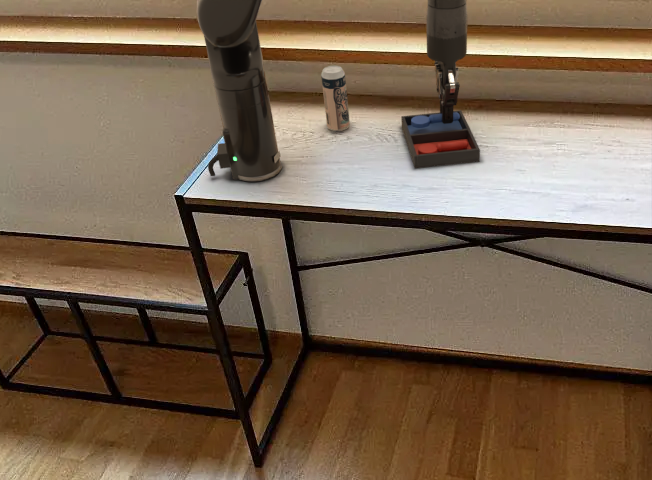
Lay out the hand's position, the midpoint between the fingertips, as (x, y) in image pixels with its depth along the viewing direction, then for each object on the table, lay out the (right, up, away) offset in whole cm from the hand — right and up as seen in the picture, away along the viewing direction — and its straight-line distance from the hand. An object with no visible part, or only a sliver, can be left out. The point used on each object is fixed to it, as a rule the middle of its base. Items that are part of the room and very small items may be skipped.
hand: (446, 119), depth 142 cm
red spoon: (-1, -8, -5) cm, 9 cm away
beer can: (-22, 0, +6) cm, 23 cm away
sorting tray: (-2, -5, -1) cm, 6 cm away
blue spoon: (-2, -1, 0) cm, 2 cm away
